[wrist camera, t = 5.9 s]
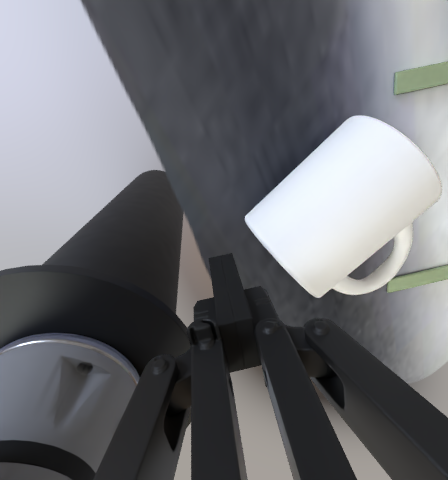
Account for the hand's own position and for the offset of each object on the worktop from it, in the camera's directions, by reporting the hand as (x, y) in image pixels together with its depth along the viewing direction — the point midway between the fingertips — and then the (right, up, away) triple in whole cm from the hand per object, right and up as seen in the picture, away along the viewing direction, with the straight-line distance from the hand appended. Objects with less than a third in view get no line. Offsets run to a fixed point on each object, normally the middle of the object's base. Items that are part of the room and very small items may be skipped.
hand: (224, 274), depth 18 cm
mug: (+9, +5, +6) cm, 12 cm away
